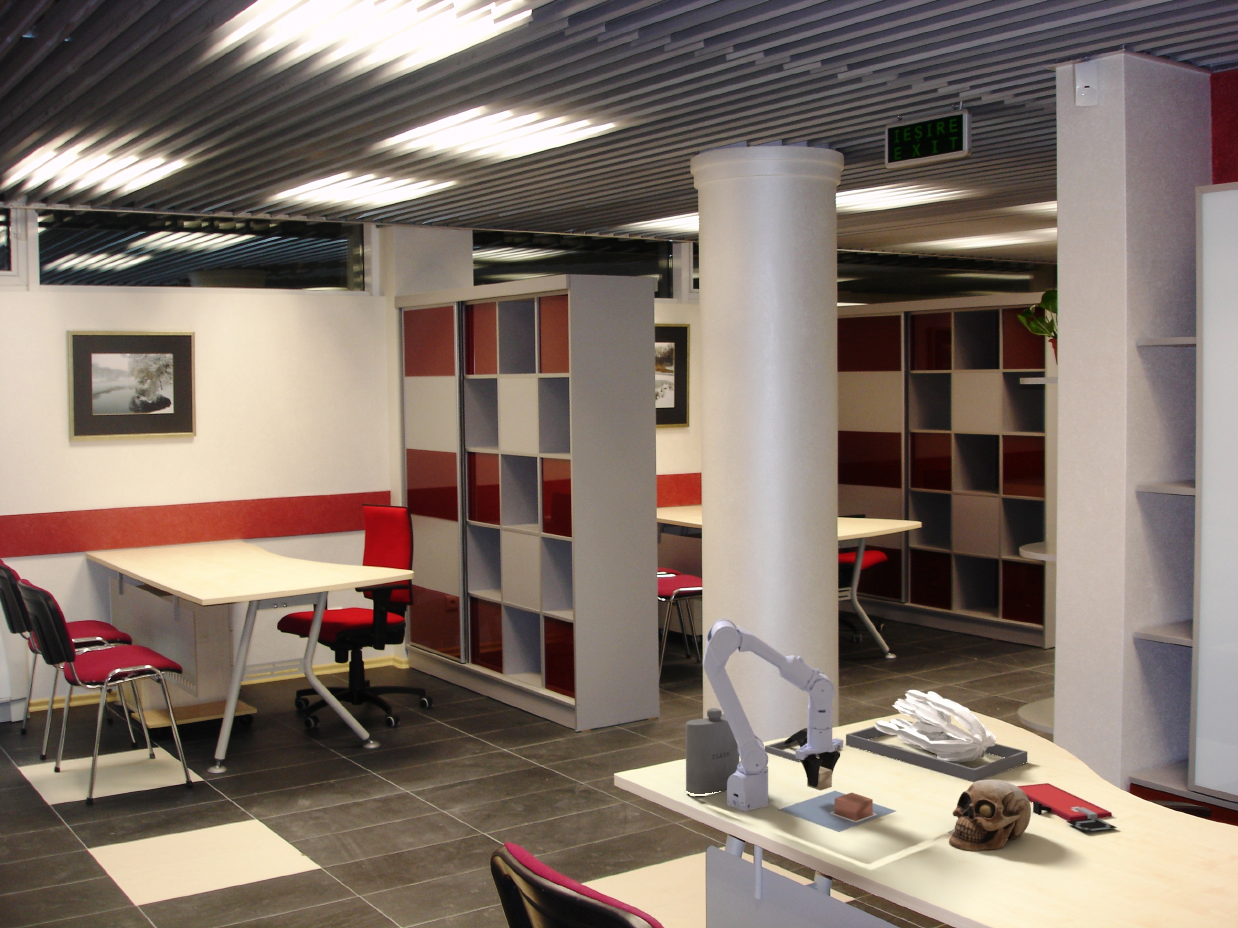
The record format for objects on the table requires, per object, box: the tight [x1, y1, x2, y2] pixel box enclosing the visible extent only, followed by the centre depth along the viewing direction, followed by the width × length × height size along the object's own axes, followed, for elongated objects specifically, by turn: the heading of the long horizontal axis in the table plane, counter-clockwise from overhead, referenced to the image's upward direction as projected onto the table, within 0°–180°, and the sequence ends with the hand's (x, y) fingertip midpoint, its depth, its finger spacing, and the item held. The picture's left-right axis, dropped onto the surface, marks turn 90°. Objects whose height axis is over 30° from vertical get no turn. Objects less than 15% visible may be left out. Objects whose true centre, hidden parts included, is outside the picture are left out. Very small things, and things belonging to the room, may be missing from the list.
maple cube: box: [806, 766, 833, 791], centre depth 272 cm, size 4×4×4 cm
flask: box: [685, 707, 740, 794], centre depth 283 cm, size 15×6×20 cm, turn 122°
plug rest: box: [764, 739, 840, 762], centre depth 316 cm, size 18×12×2 cm, turn 129°
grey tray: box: [845, 720, 1028, 783], centre depth 312 cm, size 24×41×3 cm, turn 39°
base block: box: [835, 792, 874, 821], centre depth 265 cm, size 6×6×4 cm
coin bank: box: [948, 779, 1032, 852], centre depth 252 cm, size 16×17×13 cm
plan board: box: [777, 790, 896, 833], centre depth 267 cm, size 20×18×1 cm
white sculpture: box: [874, 689, 997, 764], centre depth 312 cm, size 17×18×35 cm
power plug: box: [785, 727, 807, 748], centre depth 316 cm, size 6×8×12 cm
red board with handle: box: [1016, 782, 1118, 832], centre depth 270 cm, size 30×3×15 cm
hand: (819, 783), depth 272 cm, fingers closed on maple cube, 4 cm apart
